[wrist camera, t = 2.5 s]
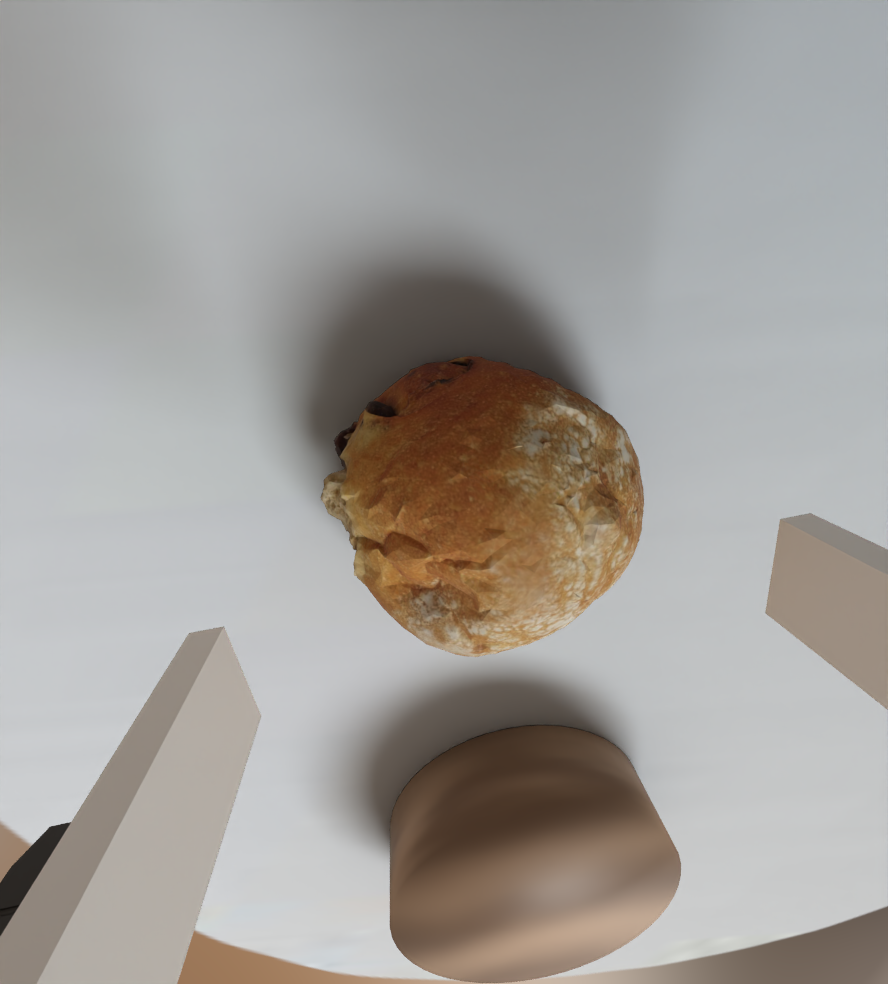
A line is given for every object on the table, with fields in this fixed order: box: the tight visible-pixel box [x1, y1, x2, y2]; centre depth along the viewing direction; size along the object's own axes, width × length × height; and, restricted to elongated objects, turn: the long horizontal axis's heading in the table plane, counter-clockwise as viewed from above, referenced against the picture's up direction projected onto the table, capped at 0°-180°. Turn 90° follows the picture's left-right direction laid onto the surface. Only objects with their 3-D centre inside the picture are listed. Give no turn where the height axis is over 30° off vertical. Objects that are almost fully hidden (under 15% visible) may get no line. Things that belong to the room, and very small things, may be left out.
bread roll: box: [321, 356, 644, 657], centre depth 15 cm, size 10×10×8 cm
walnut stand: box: [390, 725, 681, 983], centre depth 23 cm, size 14×14×4 cm
